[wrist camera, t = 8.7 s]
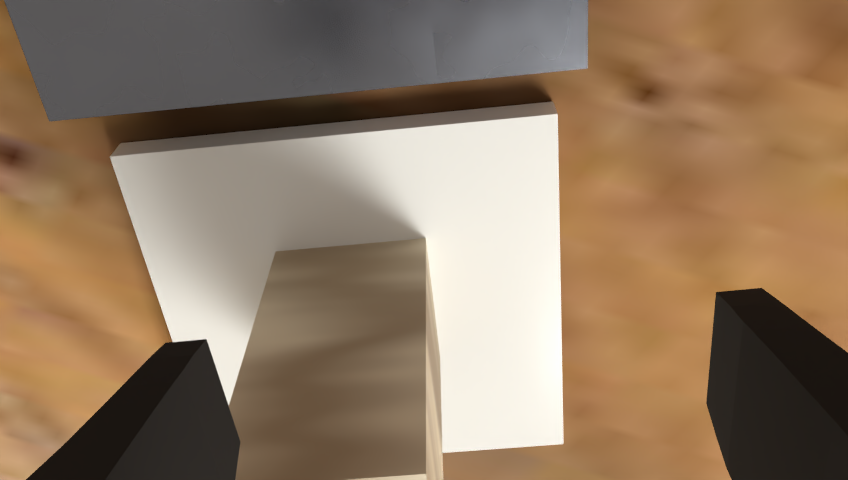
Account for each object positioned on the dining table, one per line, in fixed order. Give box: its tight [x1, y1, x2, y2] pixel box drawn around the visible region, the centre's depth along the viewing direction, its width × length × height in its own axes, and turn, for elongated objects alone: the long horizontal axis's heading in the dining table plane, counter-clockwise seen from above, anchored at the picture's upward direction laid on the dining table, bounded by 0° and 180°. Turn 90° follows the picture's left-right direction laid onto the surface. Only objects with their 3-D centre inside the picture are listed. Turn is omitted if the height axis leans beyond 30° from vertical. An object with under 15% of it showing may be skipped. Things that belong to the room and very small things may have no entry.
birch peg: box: [229, 238, 443, 480], centre depth 19 cm, size 4×4×8 cm
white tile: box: [110, 102, 563, 453], centre depth 23 cm, size 11×11×1 cm
